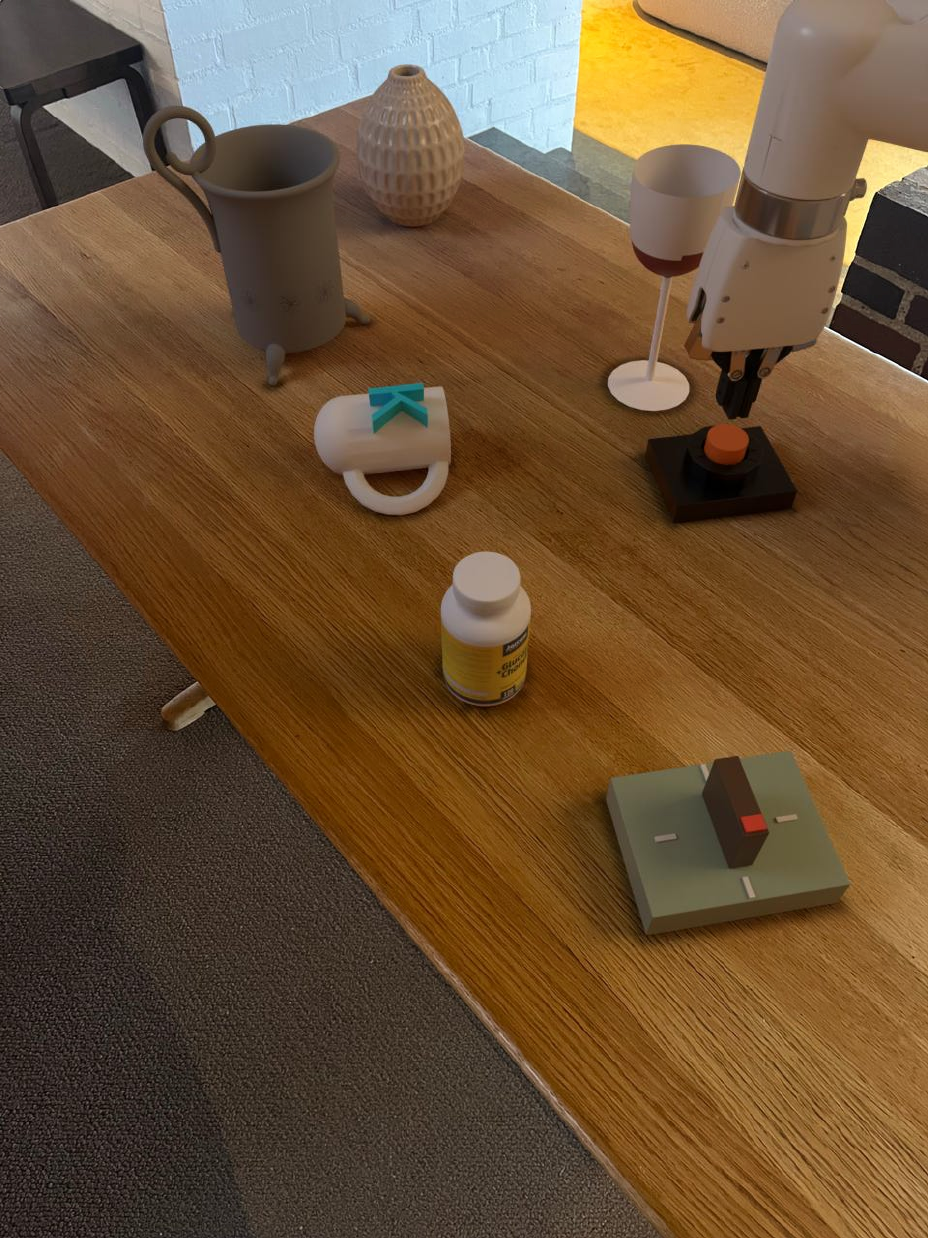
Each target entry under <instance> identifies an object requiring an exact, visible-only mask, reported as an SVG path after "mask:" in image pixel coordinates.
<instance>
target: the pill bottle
mask: <svg viewBox="0 0 928 1238" xmlns="http://www.w3.org/2000/svg"><path fill="white" fill-rule="evenodd" d="M521 578H522V577H521V572H520V569H519V567H518V565H517V564H516V563H515V561H513V560H512V559H511V558H509V557H508V556H506V555H504V554H502V553H499V552H494V551H478V552H474V553H471V554H469V555H466V556H465V557H463V558H461V560H459V562H458V563H457V564H456V565H455V567H454V570H453V573H452V584H451V585H450V586H449V587H448V589H447V590H446V591H445V593H444V595H443V597H442V600H441V605H440V633H441V637H440V638H441V657H442V658H441V659H442V661H441V662H442V675H443V679H444V682H445V685H446V687H447V688H448V690H449V691H450V693H452V695H454V696H455V697H456V698H457V699H459V700H460V701H462V702H464V703H466V704H469V705H473V706H478V707H493V706H498V705H501V704H503V703H506V702H508V701H510V700H511V699H513V698H514V697H515V696H516V695H517V694H518V693H519V691H521V689H522V688H523V686H524V683H525V680H526V676H527V667H528V656H529V642H530V628H531V616H532V605H531V600H530V598H529V595H528V593H527V592H526V590H525V589H524V587H522V586H521Z"/></svg>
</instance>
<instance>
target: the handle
mask: <svg viewBox="0 0 928 1238" xmlns="http://www.w3.org/2000/svg"><path fill="white" fill-rule="evenodd" d="M739 758H740V757H739V755H734V756H727V757H721V758H715V759H714V760H713V762H714V763H713V765H712V768H711V771H710V773H709V776H708V778H707V781H706V784H705V786H704V789H703V791H702V796H703V799H704V801H705V804H706V807H707V810H708V812H709V815H710V818H711V821H712V823H713V826H714V829H715V832H716V834H717V837H718V840H719V843H720V845H721V848H722V851H723V854H724V856H725V859H726V862H727V865H728V867H729V869H731V868H737V867H743V866H749V865H753V863H754V861H755V859H756V857H757V855H758V854H759V852H760V850H761V848H762V846H763V844H764V842H765V840H766V839H767V837H768V835H769V830H768V828H767V826H766V823H765V821H764V818H763V816H762V813H761V811H760V808H759V806H758V803H757V801H756V798H755V796H754V793H753V791H752V788H751V786H750V783H749V781H748V778H747V776H746V773H745V771H744V768H743V766H742V764H741V761H740V759H739Z"/></svg>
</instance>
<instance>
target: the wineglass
mask: <svg viewBox="0 0 928 1238" xmlns="http://www.w3.org/2000/svg"><path fill="white" fill-rule="evenodd" d="M741 175H742V171H741V167H740V165H739V163H738V162H737V161H736V160H735V159H734V158H733V157H731V156H730V155H729V154H727V153H725V152H723V151H721V150H719V149H716V148H713V147H709V146H704V145H699V144H687V143H686V144H683V143H682V144H681V143H680V144H678V143H677V144H669V145H663V146H659V147H656V148H653V149H651V150H648V151H646V152H644V153H643V154H642V155H640V156H639V157H638V158H637V159H635V162H634V164H633V168H632V175H631V183H630V184H631V185H630V198H629V201H630V202H629V232H630V240H631V246H632V249H633V252H634V254H635V256H636V259H637V261H638V262H639V263H640V264H641V265H642V266H643V267H644V268H645V269H646V270H648V271H650V272H652V273H653V274H655V275H658V276H660V277H662V282H661V287H660V293H659V297H658V303H657V310H656V315H655V322H654V326H653V332H652V339H651V345H650V350H649V355H648V360H645V359H642V360H634V361H633V360H632V361H629V362H626V363H623V364H620V365H619V366H617V367H616V368H614V369H613V370H612V371H611V372H610V374H609V376H608V378H607V387H608V389H609V392H610V394H611V395H612V396H613V397H614V398H615V399H616V400H617V401H618V402H620V403H622V404H624V405H626V406H627V407H629V408H632V409H637V410H640V411H648V412H649V411H650V412H658V411H659V412H660V411H666V410H667V411H668V410H670V409H672V408H675V407H678V406H679V405H681V404H682V403H683V402H685V401H686V399H687V397H688V396H689V394H690V383H689V381H688V379H687V378H686V376H685V375H684V374H683V373H682V372H681V371H680V370H678V369H677V368H675V367H674V366H672V365H669V364H668V363H663V362H660V361H658V358H659V353H660V347H661V341H662V337H663V330H664V325H665V321H666V314H667V310H668V303H669V298H670V293H671V288H672V281H673V278H674V277H681V276H683V275H686V274H689V273H691V272H693V271H695V270H698V268H699V265H700V262H701V259H702V256H703V253H704V250H705V247H706V245H707V242H708V240H709V237H710V235H711V233H712V231H713V228H714V226H715V224H716V222H717V220H718V218H719V216H720V214H721V212H722V210H723V209H724V208H726V207H731V206H734V203H735V200H736V196H737V192H738V188H739V183H740V179H741Z"/></svg>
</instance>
